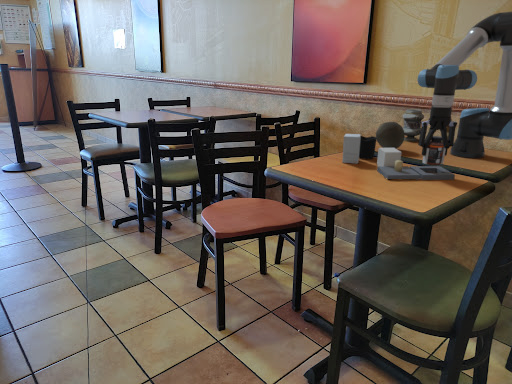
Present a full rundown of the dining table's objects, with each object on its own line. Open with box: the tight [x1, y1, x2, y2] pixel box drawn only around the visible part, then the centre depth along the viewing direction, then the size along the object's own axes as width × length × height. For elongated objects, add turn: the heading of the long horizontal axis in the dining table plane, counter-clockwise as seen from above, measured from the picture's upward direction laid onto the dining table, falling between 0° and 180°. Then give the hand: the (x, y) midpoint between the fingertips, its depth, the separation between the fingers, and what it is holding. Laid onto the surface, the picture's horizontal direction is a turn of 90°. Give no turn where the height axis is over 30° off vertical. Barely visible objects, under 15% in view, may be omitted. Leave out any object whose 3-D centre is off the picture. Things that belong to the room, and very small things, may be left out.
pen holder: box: [359, 135, 377, 160], centre depth 183 cm, size 9×9×10 cm
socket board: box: [409, 165, 456, 181], centre depth 155 cm, size 13×13×2 cm
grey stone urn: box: [402, 108, 425, 143], centre depth 220 cm, size 12×12×18 cm
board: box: [376, 160, 421, 181], centre depth 154 cm, size 13×13×6 cm
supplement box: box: [342, 133, 362, 165], centre depth 175 cm, size 7×7×13 cm
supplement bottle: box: [426, 135, 444, 166], centre depth 152 cm, size 6×6×11 cm
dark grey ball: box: [375, 121, 406, 150], centre depth 196 cm, size 14×14×15 cm
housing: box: [376, 147, 402, 167], centre depth 165 cm, size 9×7×8 cm
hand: (432, 163), depth 153 cm, fingers closed on supplement bottle, 6 cm apart
